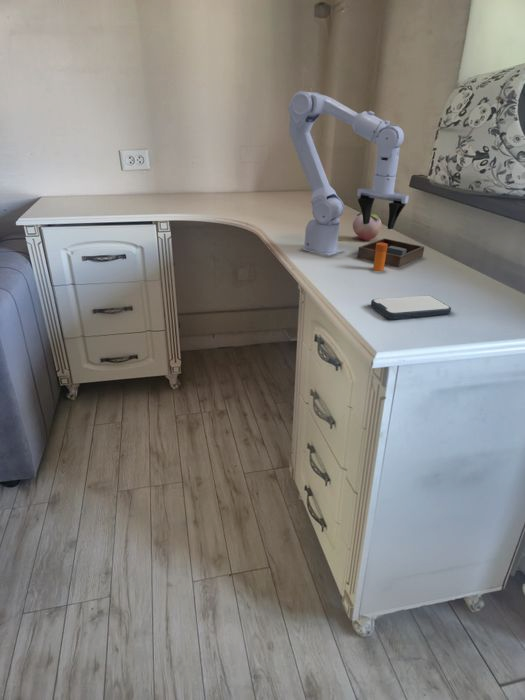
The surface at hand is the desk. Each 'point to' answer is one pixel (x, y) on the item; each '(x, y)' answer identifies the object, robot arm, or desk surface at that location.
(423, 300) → the phone case
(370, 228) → the decorative fruit
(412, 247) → the box
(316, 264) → the desk surface
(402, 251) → the eraser
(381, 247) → the glue stick
